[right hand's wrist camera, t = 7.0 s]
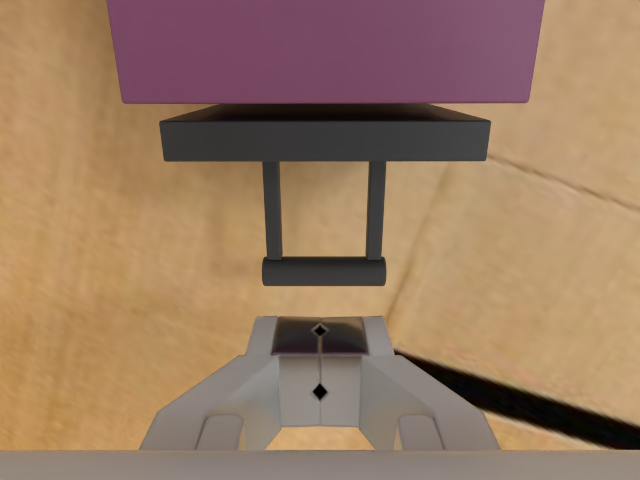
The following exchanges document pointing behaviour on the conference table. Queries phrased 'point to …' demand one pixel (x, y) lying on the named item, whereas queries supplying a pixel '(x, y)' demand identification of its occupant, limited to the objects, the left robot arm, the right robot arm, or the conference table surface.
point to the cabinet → (325, 51)
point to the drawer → (325, 145)
